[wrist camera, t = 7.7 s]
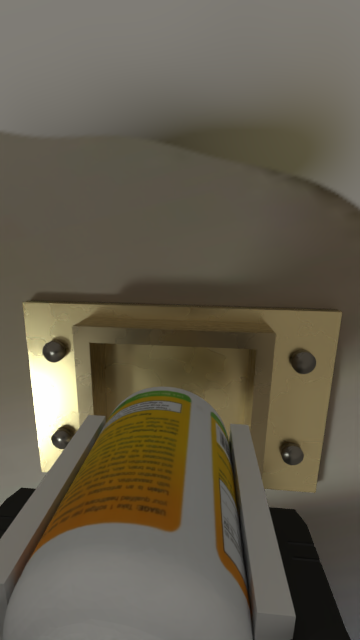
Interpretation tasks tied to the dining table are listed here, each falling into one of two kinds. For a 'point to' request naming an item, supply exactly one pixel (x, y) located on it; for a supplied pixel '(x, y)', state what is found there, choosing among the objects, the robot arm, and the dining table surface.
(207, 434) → the supplement bottle
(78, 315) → the wooden holder tray
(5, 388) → the dining table surface
